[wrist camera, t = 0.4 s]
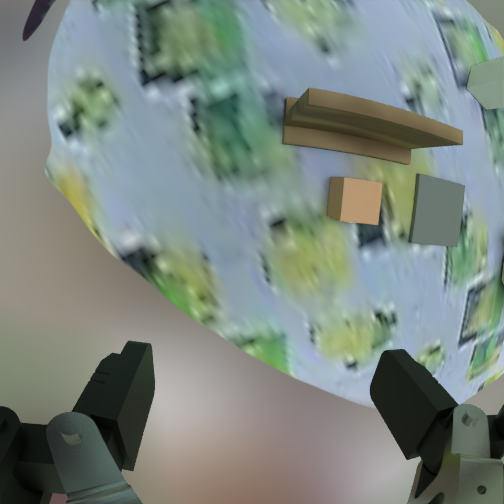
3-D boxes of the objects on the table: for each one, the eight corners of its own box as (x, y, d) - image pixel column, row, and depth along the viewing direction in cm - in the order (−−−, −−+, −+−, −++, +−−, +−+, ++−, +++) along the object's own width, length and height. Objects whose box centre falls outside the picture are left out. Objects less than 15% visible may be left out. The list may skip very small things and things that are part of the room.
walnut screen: (285, 98, 33) (309, 65, 22) (407, 124, 35) (462, 112, 23) (282, 143, 35) (306, 128, 23) (406, 164, 36) (462, 164, 25)
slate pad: (416, 173, 37) (419, 173, 36) (461, 185, 38) (464, 185, 37) (408, 241, 39) (411, 242, 38) (454, 245, 40) (456, 247, 39)
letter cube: (330, 177, 36) (344, 177, 31) (364, 181, 37) (382, 183, 32) (326, 217, 37) (339, 222, 33) (360, 220, 38) (377, 226, 33)
